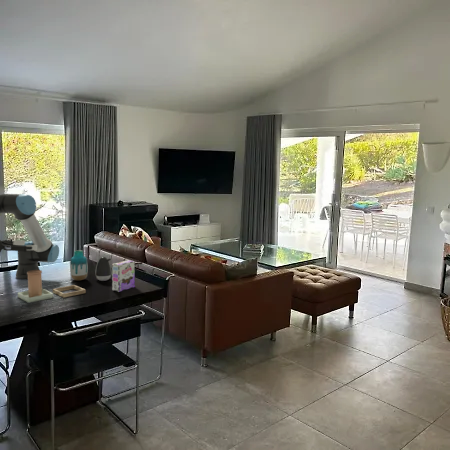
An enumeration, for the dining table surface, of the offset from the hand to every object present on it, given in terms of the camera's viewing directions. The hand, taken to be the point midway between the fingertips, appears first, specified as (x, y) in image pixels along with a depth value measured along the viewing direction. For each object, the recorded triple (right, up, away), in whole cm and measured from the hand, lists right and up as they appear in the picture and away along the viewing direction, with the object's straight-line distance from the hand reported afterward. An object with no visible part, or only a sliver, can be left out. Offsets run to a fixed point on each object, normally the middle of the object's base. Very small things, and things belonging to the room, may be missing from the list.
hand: (30, 245), depth 252 cm
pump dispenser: (+30, -25, +41) cm, 56 cm away
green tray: (+2, -29, +1) cm, 30 cm away
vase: (+15, -24, +39) cm, 48 cm away
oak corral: (+18, -28, +11) cm, 35 cm away
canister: (+2, -29, +1) cm, 29 cm away
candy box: (+47, -28, +22) cm, 59 cm away
